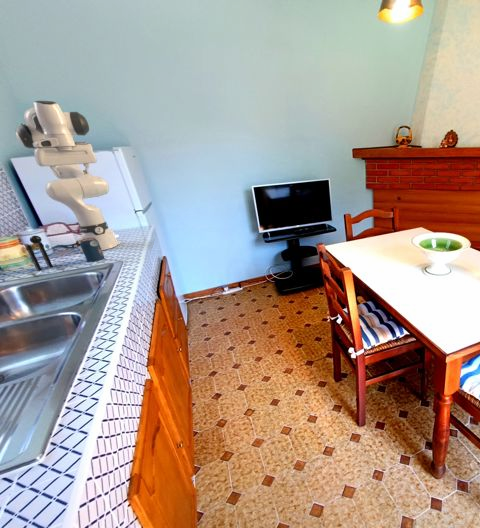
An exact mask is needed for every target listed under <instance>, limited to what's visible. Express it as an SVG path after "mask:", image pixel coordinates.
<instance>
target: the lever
mask: <svg viewBox="0 0 480 528" xmlns="http://www.w3.org/2000/svg"><path fill="white" fill-rule="evenodd" d="M29 242H31V244H29V245H30V246H31V248H32V250H33V252H34V251H35V252H36V251H40V249H39V246H38V243H40V242H42V238H41V236H39V235H32V236H31V237H29Z"/></svg>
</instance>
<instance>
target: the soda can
mask: <svg viewBox="0 0 480 528" xmlns="http://www.w3.org/2000/svg"><path fill="white" fill-rule="evenodd" d="M80 245H81V248H82V250H83V252H82V253H83V255H84V257H85V260H86V262H87V263H95V262H99V261H102V260H104V259H105V258H106V257H105V255H104V253H103V250H101V247H100V245H99V242H98V240H96V239H95V238H87V239H83V240H81V243H80Z"/></svg>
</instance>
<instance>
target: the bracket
mask: <svg viewBox="0 0 480 528" xmlns="http://www.w3.org/2000/svg"><path fill="white" fill-rule="evenodd" d="M23 245H24V249H25V251H27V253H28V256H29V257H30V259H31V261H32V264H33V265H34V267H35V269H36V270H37V271H38V272H40V271H43V269H42V267H41V265H40V262H39V260H38V258H37V257H36V254H35V252H34V251H33V250H32V248H31V246H30V244H29V243H24V244H23ZM38 246H39V252H40V254H41V255H42V257H43V259H44V262H45V264H46V266H47V267H48V268H50V269H51V268H54V265H53V264H52V262H51V259H50V257H49V254H48V253H47V250H46V248H45V245H44V243H43V242H42V241H41V242H40V243H38Z"/></svg>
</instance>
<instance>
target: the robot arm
mask: <svg viewBox="0 0 480 528" xmlns="http://www.w3.org/2000/svg"><path fill="white" fill-rule="evenodd" d="M23 119H24V122H25V123H22V122H21V123H20V125H19V126H18V127H16V129H15V137H16V139H17V140H18V142H19V143H20V144H21V145H22V146H24V147H25V148H27V149H33V155H34V159H35V162H36V164H37V166H39V167H40V168H41V167H42V168H43V167H49V168H50V170H51V172H52V173H53V175H54V176H55V177H56V178H58V179H55V180H52V181H48V182H47V183H46V184H45V193H46V195H47V196H48V197H49V198H50V199H52V200H53V201H55V202H58V203H61V204H62V205H65V206H66V207H68V208H69V209H70V210H71V211H72V212H73V214H74V215H75V218H76V220H77V222H78V224H79V226H78V227H79V230H80V233H81V234H80V238H79V239H77V240H76V241H75V243H72V244H71V246H68V245H65V244H57V245H54V248H57V247H63V248H65V249H72V248H74V247H75V246H77V247H78V250H80V252H82V253H83V250H82V248H81V245H80V243H81V240H83V239H87V238H95V239H96V240H98V242H99V245H100V247H101V250H102V251H105V250H110V249H112V248H116V247H117V246H118V245H120V244H122V242H121V241H120V240H118V239H117V238H118V237H119V235H118V234H115V233H114V231H113V230H112V229H109V224H108V223H107V221H106V220H105V218H104V215H103V212H102V210H101V208H99V206H96V205H93V204H88V203H86V202H84V201H83V200H85V199H92V198H99V197H102V196H105V195H108V193H109V191H110V185H109V183H108V181H107V180H106V179H105V178H103V177H101V176H97V175H93V174H91V173H90V172H89V168H90V164H97V161H98V159H97V157H96V155H95V153H94V148H93V146H92V144H90V143H89V142H87V141H81V142H80V141H75V140H74V136H83V137H84V136H86V135H87V134H88V133H89V131H90V125H89V121H88V120H87V118H86V117H85V116H84V115H83V114H81V113H79V112H78V111H63V110H62V108H61V106H60V105H59V104H58V103H57V102H56V101H51V100H35V101H34V102H33V107H30V108H27V109H26V110H25V111H24V113H23ZM79 165H83V167H84V169H82V168H81V167H80V166H79Z"/></svg>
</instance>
